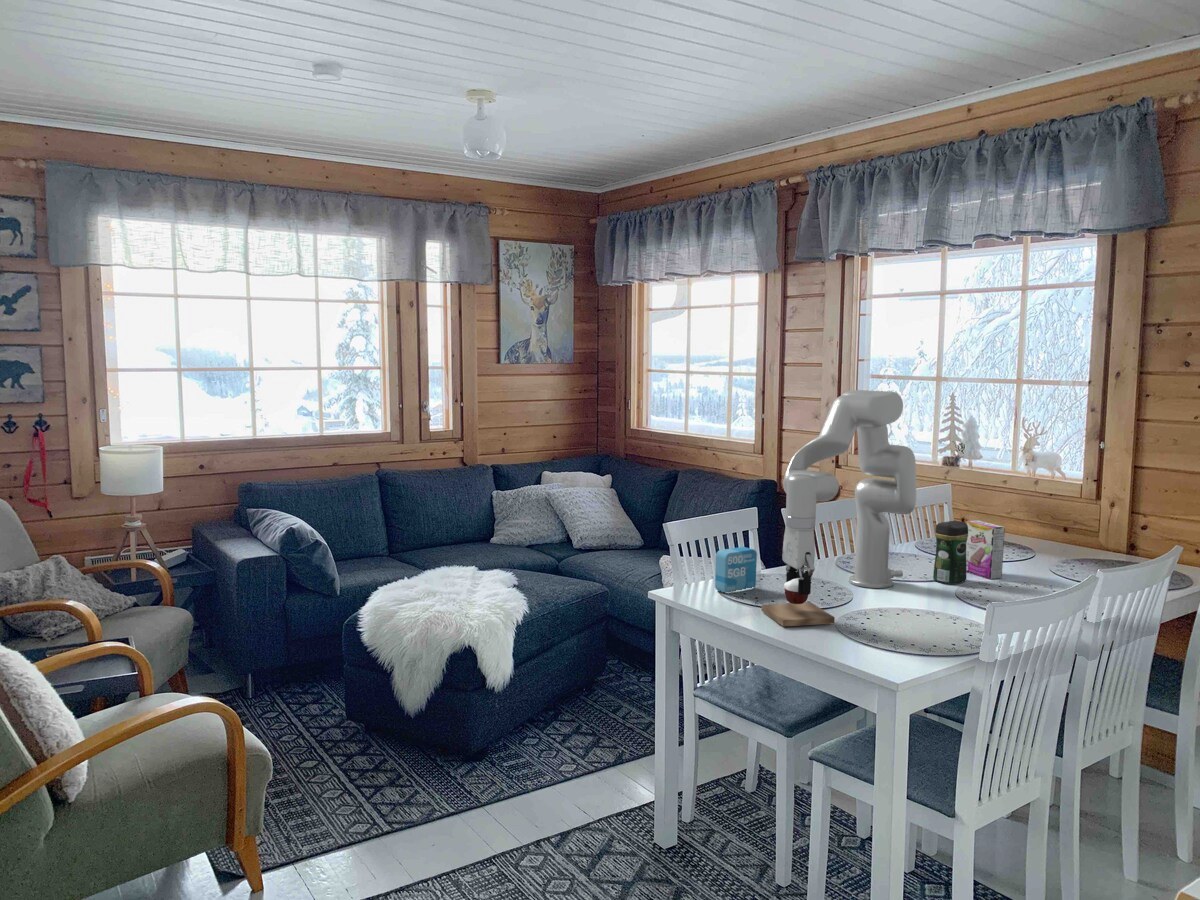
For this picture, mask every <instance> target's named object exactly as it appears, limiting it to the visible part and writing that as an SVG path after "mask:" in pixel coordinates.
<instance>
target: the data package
mask: <svg viewBox="0 0 1200 900" xmlns="http://www.w3.org/2000/svg"><path fill="white" fill-rule="evenodd" d="M757 555H758V554H757V550H756V549H754V548H753V549H752V548H749V547H745V546H741V547H740V546H739V547H731V548H725V549H719V550H718V551H717V552H716V553H715V570H714V571H715V572H714V573H715V574H714V577H715V578H714V588H715V590H716V591H717V590H718V592H720V591H721V592H720V593H723V592H731V591H736V590H742V589H746V588H752V587H755V588H756V585H757V562H758V561H757V560H758V559H757Z"/></svg>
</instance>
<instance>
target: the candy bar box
mask: <svg viewBox="0 0 1200 900" xmlns="http://www.w3.org/2000/svg"><path fill="white" fill-rule="evenodd" d="M966 524H967V525H968V538H967V544H966V571H967V572H966V573H969V572H970V573H969V574H972V573H973V574H972V575H976V576H979V577H981V576H982V578H984V577H985V579H988V580H998V579H997V578H999V579H1002V577H1003V561H1004V549H1005V548H1004V547H1005V545H1004V544H1005V531H1006V529H1005V528H1006V527H1005V526H1002V525H998V524H995V523H990V522H988V521H987V522H986V521H983V520H978V519H977V520H968V521H966Z"/></svg>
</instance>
